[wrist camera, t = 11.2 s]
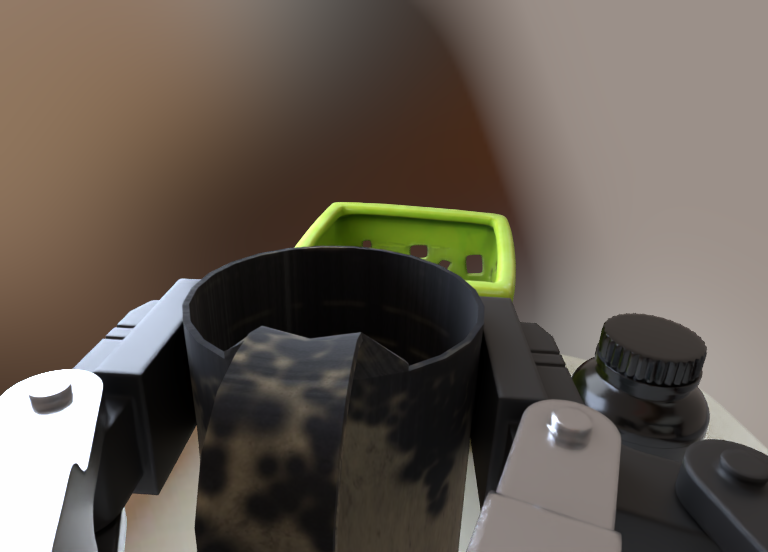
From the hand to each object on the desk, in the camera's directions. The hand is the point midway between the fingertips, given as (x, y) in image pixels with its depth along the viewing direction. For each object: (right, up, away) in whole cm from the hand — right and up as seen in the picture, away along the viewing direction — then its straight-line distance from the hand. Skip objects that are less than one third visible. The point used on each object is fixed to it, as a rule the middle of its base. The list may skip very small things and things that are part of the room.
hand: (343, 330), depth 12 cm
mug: (-1, -10, +1) cm, 10 cm away
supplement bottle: (+14, -13, +22) cm, 29 cm away
